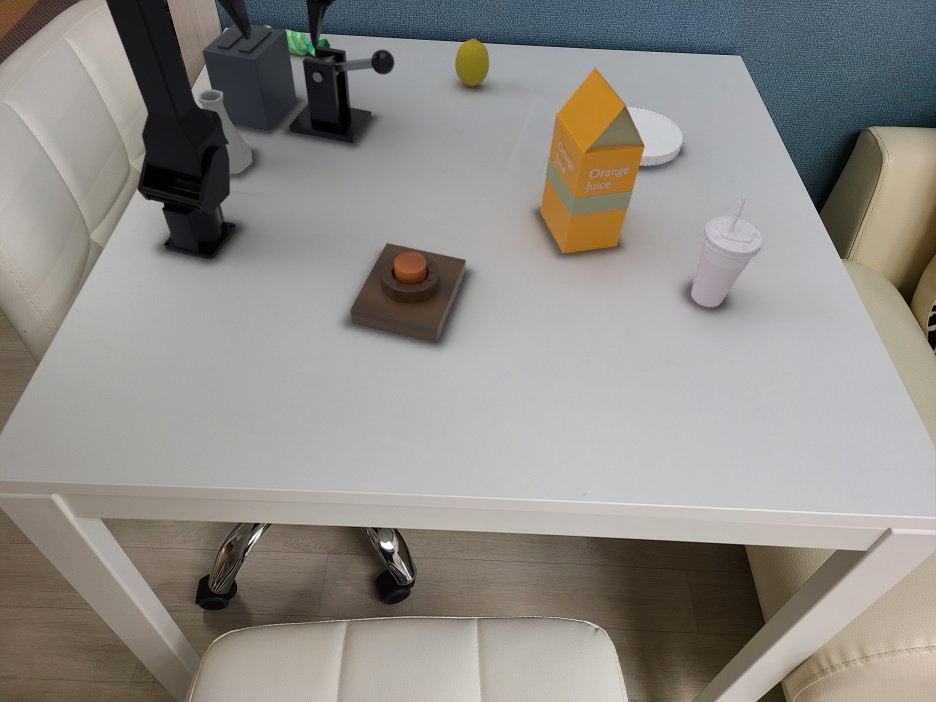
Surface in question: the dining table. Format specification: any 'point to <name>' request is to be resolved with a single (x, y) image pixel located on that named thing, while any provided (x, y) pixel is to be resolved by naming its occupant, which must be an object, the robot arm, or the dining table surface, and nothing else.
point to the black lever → (365, 63)
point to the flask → (228, 132)
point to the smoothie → (724, 256)
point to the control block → (409, 295)
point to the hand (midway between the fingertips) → (281, 42)
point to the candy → (301, 43)
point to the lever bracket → (329, 101)
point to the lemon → (472, 62)
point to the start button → (410, 268)
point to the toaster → (252, 75)
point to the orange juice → (591, 168)
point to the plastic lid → (656, 136)
